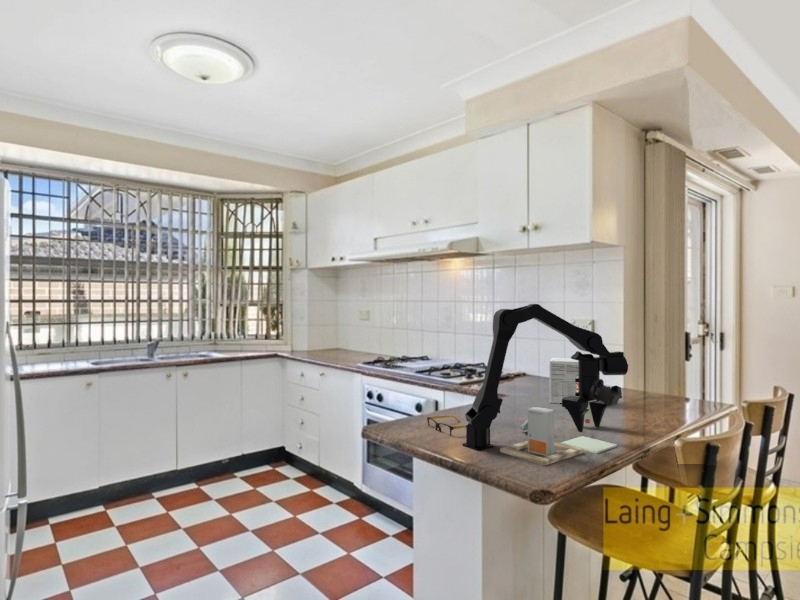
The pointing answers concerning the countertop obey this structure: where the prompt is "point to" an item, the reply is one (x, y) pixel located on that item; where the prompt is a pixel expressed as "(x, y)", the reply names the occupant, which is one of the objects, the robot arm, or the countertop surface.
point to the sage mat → (590, 444)
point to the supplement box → (562, 378)
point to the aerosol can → (587, 416)
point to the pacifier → (524, 425)
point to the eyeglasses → (444, 424)
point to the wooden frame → (566, 453)
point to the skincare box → (541, 431)
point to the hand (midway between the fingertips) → (588, 429)
